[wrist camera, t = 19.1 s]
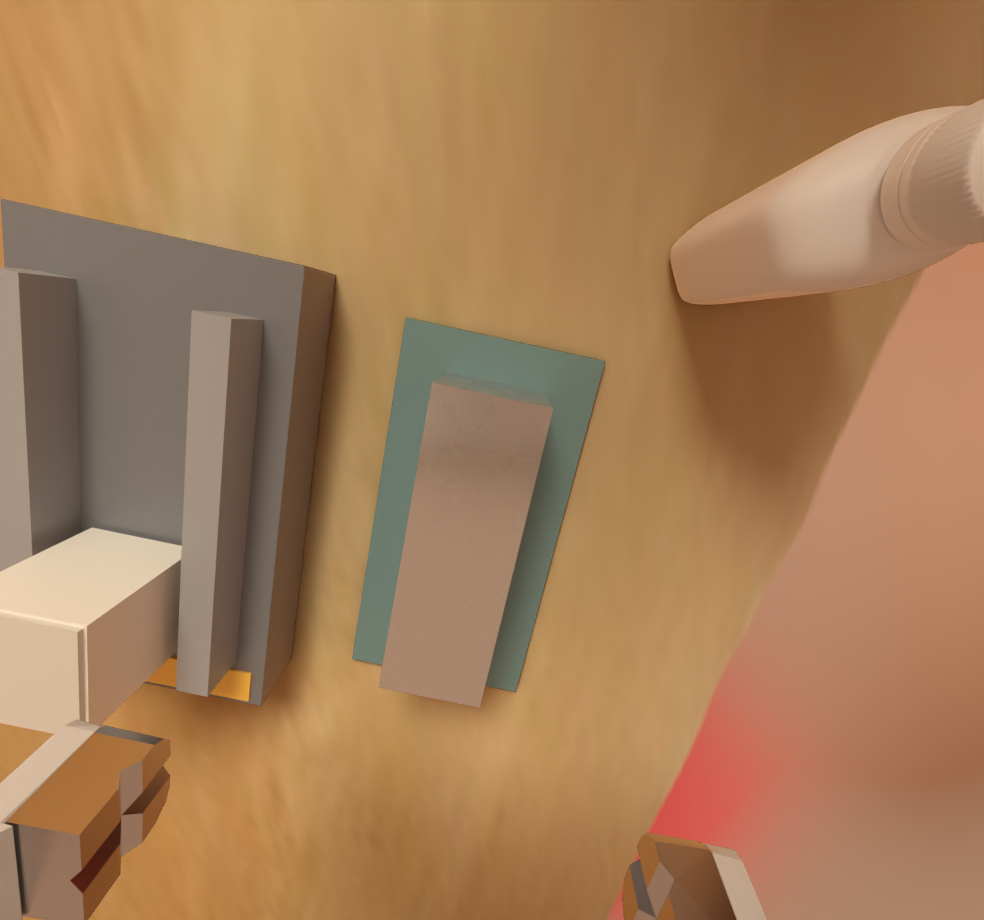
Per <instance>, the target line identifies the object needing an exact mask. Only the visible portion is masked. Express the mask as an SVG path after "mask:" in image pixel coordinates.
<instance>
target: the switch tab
mask: <svg viewBox="0 0 984 920" xmlns="http://www.w3.org/2000/svg"><path fill="white" fill-rule="evenodd" d="M181 554H182V546H180V545H175V544H170V543H165V542H161V541H156V540H151V539H146V538H141V537H136V536H131V535H127V534H122V533H117V532H112V531H107V530H102V529H97V528H93V527H92V528H90V529H88V530H86V531H83V532H81V533H79V534H77V535H75V536H73V537H71V538H69V539H67V540H65V541H63V542H61V543H59V544H57V545H54V546H52V547H50V548H48V549H46V550H44V551H42V552H40V553H38V554H36V555H34V556H32V557H30V558H27V559H25V560H23V561H21V562H19V563H17V564H15V565H13V566H11V567H9V568H7V569H5V570H3V571H1V572H0V723H3V724H8V725H13V726H18V727H23V728H28V729H33V730H38V731H43V732H49V733H54V734H55V733H56V732H57V731H58V730H59V729H60V728H61V727H63V726H65V725H66V724H68V723H70V722H72V721H74V720H76V719H77V720H82V721H86V722H91V723H96V724H102V723H103V722H104V721H105V720H106V719H107V718H108V717H109V716H110V715H111V714H112V713H113V712H114V711H115V710H116V709H118V708H119V707H120V706H121V705H122V704H123V703H124V702H125V701H126V700H127V699H128V698H129V697H130V696H131V695H132V694H133V693H134V692H135V691H136V690H137V689H138V688H139V687H140V686H141V685H142V684H143V683H144V682H145V681H146V680H147V679H148V678H149V677H150V676H151V675H152V674H153V673H154V672H155V671H156V670H157V669H158V668H159V667H160V666H162V665H163V664H164V663H165V662H166V661H167V660H168V659H169V658H170V657H171V656H172V655H173V654H174V653H175V652H176V651H177V650H178V626H179V602H180V578H181Z"/></svg>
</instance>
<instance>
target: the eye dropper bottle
mask: <svg viewBox="0 0 984 920" xmlns="http://www.w3.org/2000/svg"><path fill="white" fill-rule="evenodd" d="M979 242H984V99H982V100H980V101H978V102H975V103H973V104H971V105H969V106H949V107H941V108H933V109H928V110H923V111H919V112H914V113H910V114H907V115H903V116H900V117H897V118H894V119H891V120H888V121H885V122H883V123H880V124H878V125H875V126H873V127H871V128H868V129H866V130H863V131H861V132H859V133H857V134H855V135H853V136H851V137H849V138H847V139H845V140H843V141H841V142H839V143H837V144H836V145H834V146H832V147H830V148H828V149H826V150H825V151H823V152H821V153H819V154H817V155H816V156H814V157H812V158H810V159H808V160H807V161H805V162H803V163H801V164H799V165H798V166H796V167H794V168H792V169H790V170H789V171H787V172H785V173H783V174H781V175H780V176H778V177H776V178H774V179H772V180H771V181H769V182H767V183H765V184H763V185H762V186H760V187H758V188H756V189H754V190H753V191H751V192H749V193H747V194H745V195H744V196H742V197H740V198H738V199H737V200H735V201H733V202H731V203H729V204H728V205H726V206H724V207H722V208H720V209H719V210H717V211H715V212H713V213H712V214H710V215H709V216H707V217H705V218H704V219H702V220H701V221H700V222H698V223H697V224H695V225H694V226H693V227H692V228H690V229H689V230H688V231H687V232H686V233H685V234H683V235H682V236H681V237H680V238H679V239H678V240H677V241H676V242H675V243H674V245H673V247H672V249H671V251H670V262H671V266H672V271H673V274H674V278H675V282H676V286H677V290H678V293H679V295H680V297H681V298H682V300H683V301H686V302H688V303H691V304H700V305H715V304H727V303H736V302H746V301H755V300H764V299H774V298H783V297H792V296H801V295H810V294H818V293H827V292H835V291H842V290H849V289H855V288H861V287H866V286H871V285H875V284H879V283H883V282H887V281H890V280H894V279H897V278H900V277H903V276H906V275H908V274H911V273H914V272H916V271H919V270H921V269H924V268H926V267H928V266H930V265H932V264H935V263H937V262H938V261H940V260H942V259H944V258H946V257H948V256H950V255H952V254H953V253H955V252H957V251H958V250H960V249H962V248H963V247H965V246H966V245H968V244H973V243H979Z"/></svg>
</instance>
